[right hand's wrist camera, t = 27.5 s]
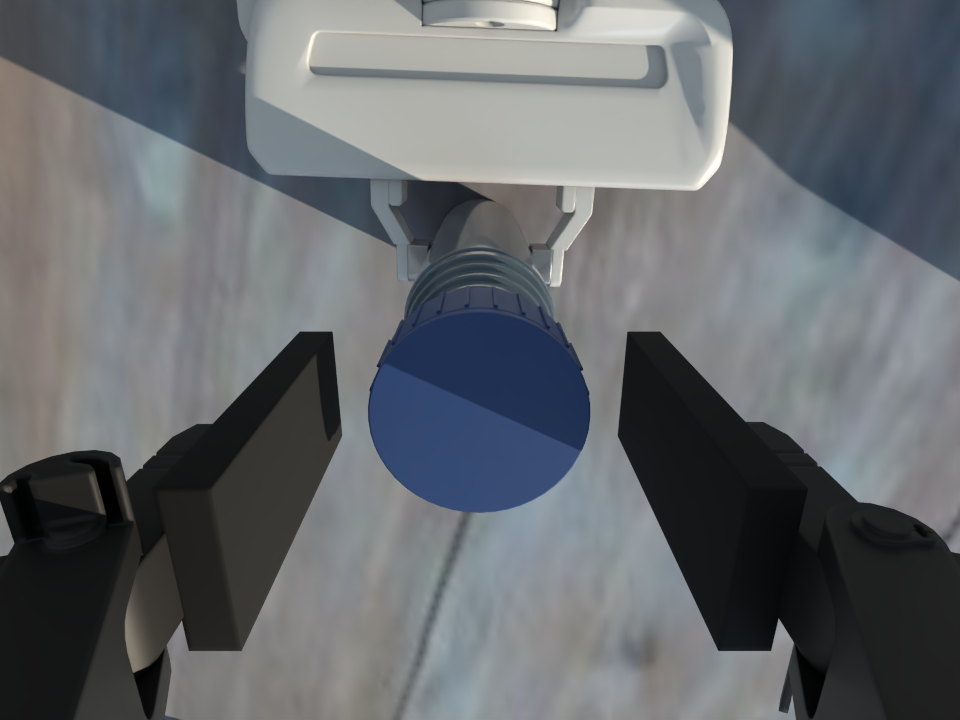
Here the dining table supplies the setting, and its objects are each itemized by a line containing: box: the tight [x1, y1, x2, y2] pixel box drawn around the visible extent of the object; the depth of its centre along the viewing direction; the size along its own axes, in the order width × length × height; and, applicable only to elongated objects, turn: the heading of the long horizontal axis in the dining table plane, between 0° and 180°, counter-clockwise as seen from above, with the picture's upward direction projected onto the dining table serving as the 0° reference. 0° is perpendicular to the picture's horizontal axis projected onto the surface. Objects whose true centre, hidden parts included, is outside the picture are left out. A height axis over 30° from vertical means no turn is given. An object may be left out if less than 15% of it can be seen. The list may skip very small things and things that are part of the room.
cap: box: [368, 286, 590, 513], centre depth 13 cm, size 5×5×2 cm
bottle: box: [404, 199, 555, 321], centre depth 23 cm, size 5×5×22 cm
